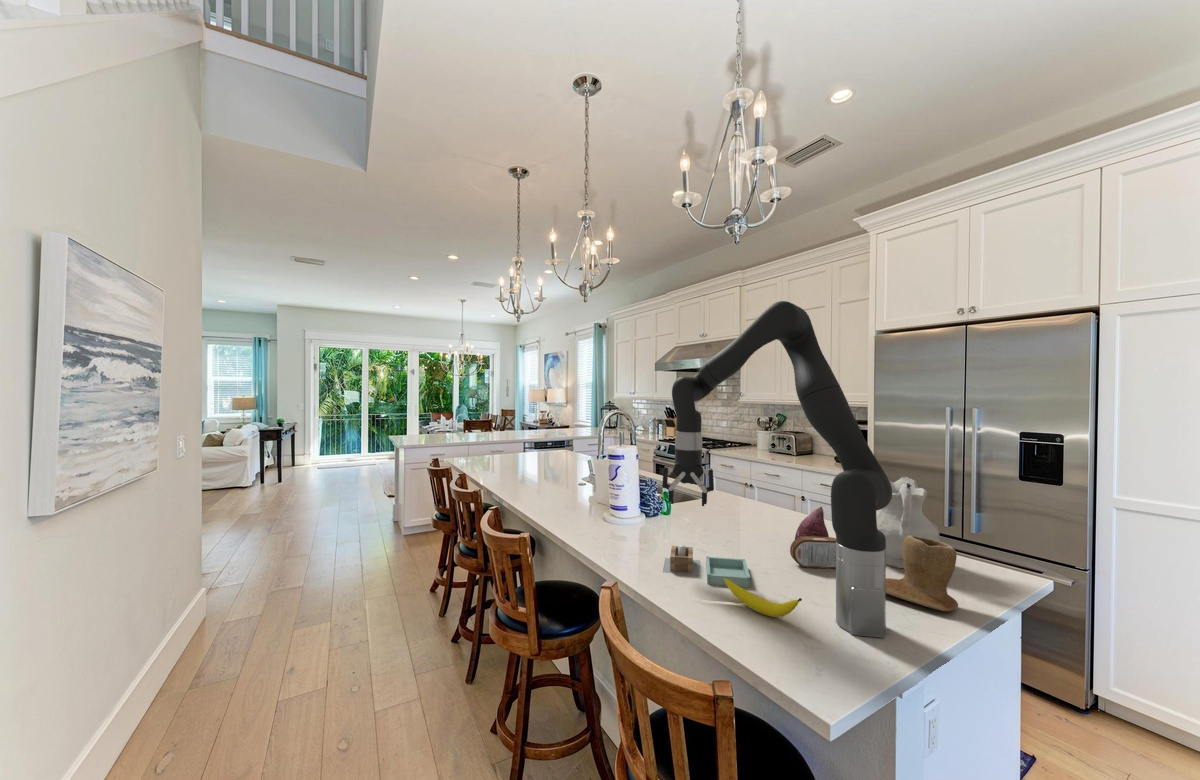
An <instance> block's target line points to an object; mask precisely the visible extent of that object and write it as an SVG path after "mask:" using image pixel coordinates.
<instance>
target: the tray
mask: <svg viewBox="0 0 1200 780" xmlns="http://www.w3.org/2000/svg"><path fill="white" fill-rule="evenodd" d="M705 567H706V568H705V571H706V584H707V585H717V586H719V585H720V586H727V585H726V583H725V580H724V578H726V579H728V580H730V581H732V582H733V583H735V584H736V585H738V586H739V587H741V588H751V587H752V586H751V585H752V583H751V575H750V572H749V571H750V570H749V568H748V565H747V561H746V559H745V558H744V559H743V558H731V557H718V556H706V557H705Z"/></svg>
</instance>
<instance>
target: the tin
mask: <svg viewBox="0 0 1200 780" xmlns="http://www.w3.org/2000/svg"><path fill="white" fill-rule="evenodd" d="M789 549H790V550H789V552H790V556H791V558H792V559H793V560H794V561H795V562H796V563H797V564H798V565H799V566H800V567H804V568H811V569H831V570H834V569H835V570H836V537H831V536H829V537H812V536H802V537H799V538H797V539H795V538H794V540H793V541H792V542H791V544H790V548H789Z"/></svg>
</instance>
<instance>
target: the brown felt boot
mask: <svg viewBox="0 0 1200 780" xmlns="http://www.w3.org/2000/svg"><path fill="white" fill-rule="evenodd" d="M902 556H903V563H904V568H903V569H904V576H903V578H900V579H897V578H890V577H886V594H887V595H888V596H892V597H894V598H899V599H901V600H904V601H907V602H910V603H913V604H916V605H920V606H923V607H926V608H929V609H933V610H938V611H941V612H952V611H955V610H957V608H958V606H959V603H958V601H957V600H956V599H955V598H954V597H952V596H950V595H949V594H948V590H947V589H948V585H949V582H950V580H951V579H952V576H953V574H954V572H955V568H956V563H957V557H958V556H957V552H956V549H955V548H954V547H953V546H952V545H950V544H947V543H945V542H942V541H940V540H939V541H935V540H932V539H927V538H923V537H917V536H912V535H909V536H907V537H906V538H905V540H904V542H903V548H902Z"/></svg>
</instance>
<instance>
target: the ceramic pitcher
mask: <svg viewBox="0 0 1200 780" xmlns="http://www.w3.org/2000/svg"><path fill="white" fill-rule="evenodd" d="M889 481H890V484H891V487H892V498H891V501H890V503H889V504H888V505H887V506H886V507H884V508H883V509H880V510H877V511H876V519H877V529H878V530H879V531H881V532H882V533H883V534H884V535H885V538H886V565H887V566H890V567H893V568H895V569H896V568H897V569H904V563H903V556H902V548H903V542H904V540H905V538H906V537H907V536H909V535H912V536H917V537H923V538H927V539H932V540H935V541H939V542H940V531H939V528H938V526H937V525H936V524H935V523H934V522H933V521H931V520H930V519H928V517H926V516H925V515H924V512H923V504H924V501H925V500H926V497H927V495H928V491H927V489H925V488H922V487H919V486H918V484H917V480H915V479H912V478H910V477H908V476H903V475H901V476H900V477H899V479H897V480H896V481H891V480H890V479H889Z"/></svg>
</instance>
